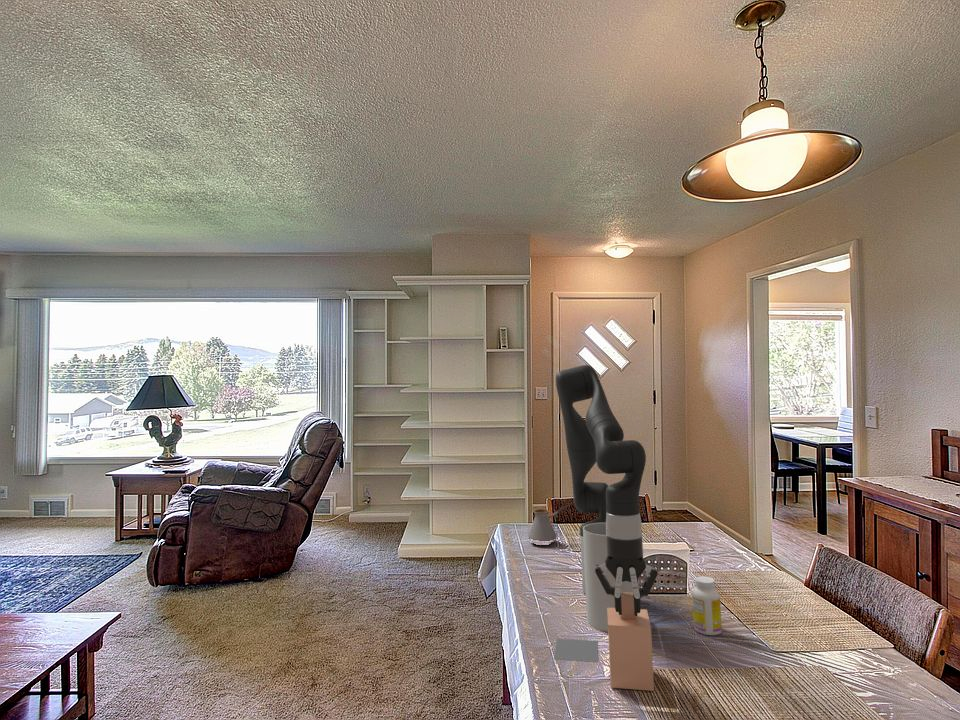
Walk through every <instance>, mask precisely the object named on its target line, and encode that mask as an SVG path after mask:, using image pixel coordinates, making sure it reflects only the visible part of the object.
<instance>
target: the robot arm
mask: <svg viewBox="0 0 960 720" xmlns="http://www.w3.org/2000/svg"><path fill="white" fill-rule="evenodd" d="M555 386H556V392H557V396H558V397H557V398H558V401H559V405H560V409H561V415H562V420H563V425H564V434H565V441H566V443H565V444H566V449H567V455H568V459H569V460H568V461H569V465H570V471H571V480H572V493H573V494H572V495H573V502H574V504H573V505H574V507H575V510H577V512H580V513H584V514H585V513H586V514H598V517H596V518H594V519H593V520H590V521H587V522H583V523H582V524H581V525H580V527H579V534H580V537H579V539H580V541H579V542H580V558H581V562H580V563H581V564H580V565H581V584H582V592H584V593H585V594H584V593H583V594H584V595H586V588H585V565H584V542H583V527H584V526H586V525H588V524H592V523H606V536H607V559H606V561H605V563H604V564H601V565H596V566H595V573H596V575H597V576H598V578H599V580H600V582H601V584H602V586H603V588H604V590H605V592H606V593H607V594H608V595H610V594H611V595H613V596H614V597H615V610H616V612H619V615H622V606H621V594H620V592H621V584H622V582H624V581H628V582H632V587H633V593H634V595H633V596H634V614H635V616H637V613H640V611H641V610H640V609H641V598H642V597H648V596H649V594H650V592H651V590H652V588H653V586H654V583H655V581H656V579H657V577H658V575H659V572H658V570H657V567H656V566H650V565H648V564H647V563H646V561H645V559H644V549H643V546H644V544H643V527H642V519H641V513H640V511H641V510H640V508H641V507H640V490H641V484H642V480H643V476H644V471H645V466H646V461H647V456H646V451H645V448H644V446H643V445H642V443H640V442H639V441H638V440H633V439H629V440H624V436H625V433H624V429H623V428H622V426H621V424H620V423H619V422H618V420H617V418H616V417H615V415H614V413H613V411H612V410H611V406H610V404H609V401H608V399H607V396H606V393H605V391H604V388H603V386H602V383H601V380H600V378H599V376H598V374H597V372H596V370H595V368H594V367H592V366H591V365H589V364H584V365H578V366H574V367H570V368H566V369H562V370H560V371H558V372H556V375H555ZM590 399H591V401H590V404H589V406H588V408H587V411H586V415H585V418H584V417H582V416H581V414H580V413H579V412H578V411H577V410H576V408H574V406H573V405H574V404H575V403H578V402H581V401H582V402H583V401H585V400H586V401H587V400H590ZM595 464H596V465H597V467H598V469H599V471H601V472H602V473H604V474H607V475H616V474H624V476H623V478H622V479H621V480H619V481H618V482H615V483H612V484H609V485H608V484H607V483H606V482H596V481H595V482H594V481H593V482H591V481H585V479H586V478H587V475H588V473H589V472H590V471H591V469H593V467H594V466H595ZM606 569H608V570H609V571H610V572H611V574H612V575H613V576H614V578H615V585H614V587H611V586H610V584H609V582H608V580H607V578H606V576H605V575H606ZM644 571H645V575H646V578H645V580H644V582H643V585H642V587H640V588H639V584H638V583H639V582H638V580H639V579H640V578H641V575H642V574H643V572H644Z"/></svg>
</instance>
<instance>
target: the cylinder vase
mask: <svg viewBox="0 0 960 720" xmlns="http://www.w3.org/2000/svg"><path fill="white" fill-rule="evenodd" d="M583 542H584V565H585V588H586V594H585V606H586V607H585V609H586V610H585V611H586V621H587V624H588V625H589V626H590V627H592V628H593V629H596V630H598V631H601V632H606V633H608V618H607V608H615V597H614V596H613V595H611V594H610V595H608V594H607V593H606V592H605V590H604V588H603V586H602V584H601V582H600V580H599V578H598V576H597V575H596V573H595V566H596V565H601V564H604V563H605V561H606V559H607V536H606V523H592V524H588V525H586V526H584V527H583ZM605 576H606V578H607V580H608V582H609V584H610V586H611V587H614V585H615V578H614V576H613V575H612V574H611V572H610V571H609V570H608V569H606V575H605ZM621 592H633V587H632V582H628V581H624V582H622V584H621ZM621 592H620V594H621ZM633 595H634V593H633Z"/></svg>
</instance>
